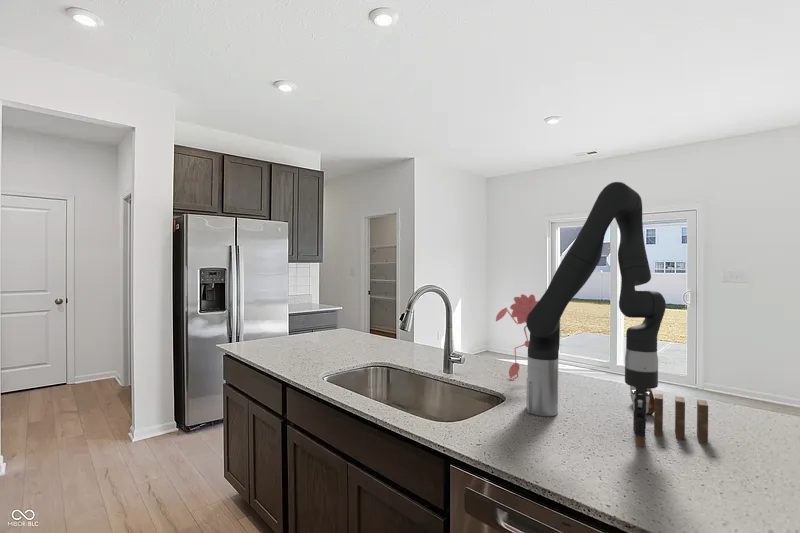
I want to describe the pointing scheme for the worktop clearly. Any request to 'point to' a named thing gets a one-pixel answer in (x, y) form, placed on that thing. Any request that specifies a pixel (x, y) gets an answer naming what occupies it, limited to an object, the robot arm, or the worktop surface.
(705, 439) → the tile
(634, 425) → the tile
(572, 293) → the robot arm
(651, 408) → the tin
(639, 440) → the end tile
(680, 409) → the tile
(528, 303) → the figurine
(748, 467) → the worktop surface
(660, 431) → the tile
